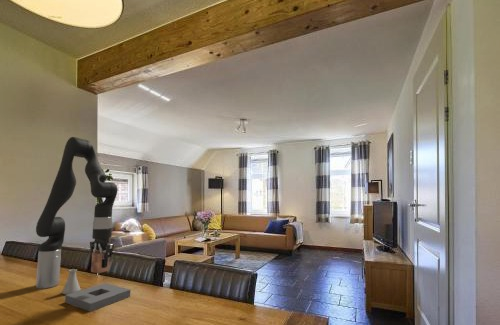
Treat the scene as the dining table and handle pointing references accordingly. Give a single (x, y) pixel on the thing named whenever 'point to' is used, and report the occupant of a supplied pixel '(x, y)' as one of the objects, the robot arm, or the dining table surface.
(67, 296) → the charcoal base
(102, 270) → the terracotta block
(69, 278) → the flask
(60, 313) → the dining table surface
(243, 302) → the dining table surface
